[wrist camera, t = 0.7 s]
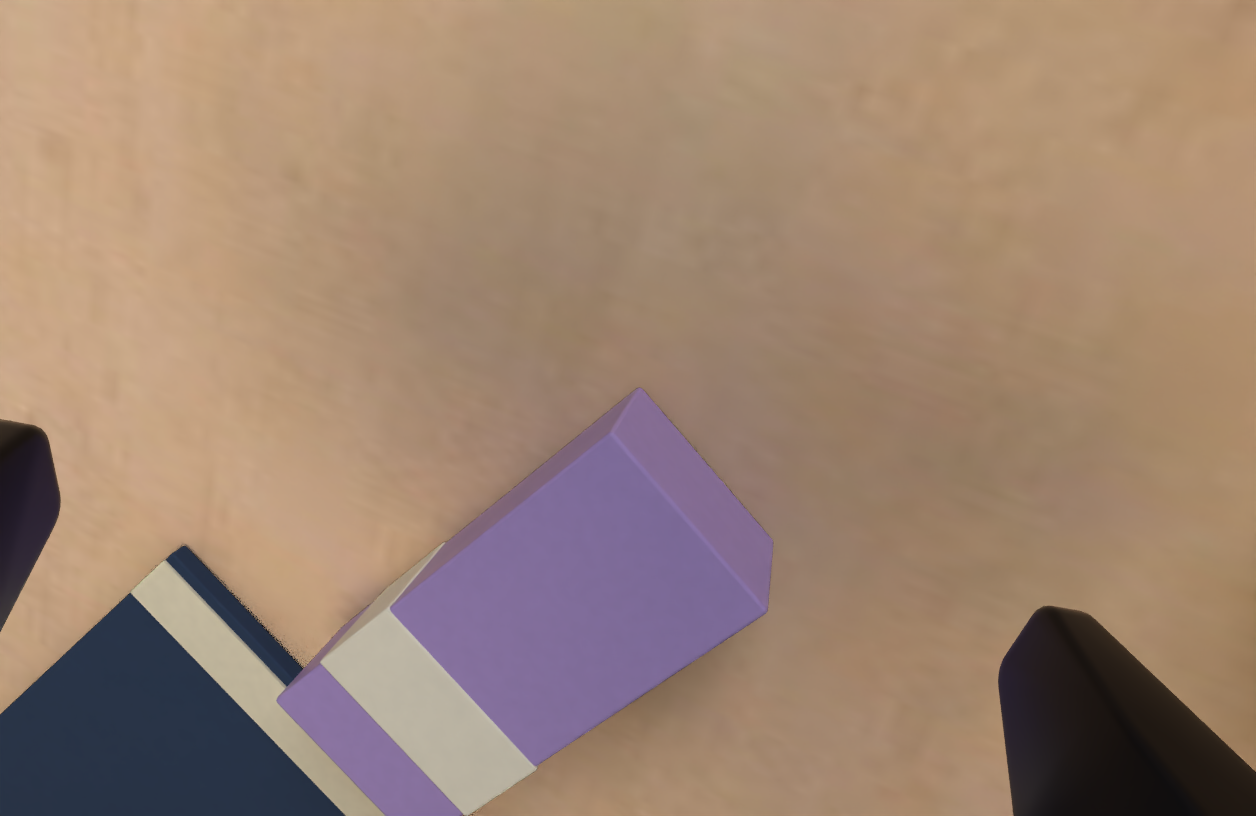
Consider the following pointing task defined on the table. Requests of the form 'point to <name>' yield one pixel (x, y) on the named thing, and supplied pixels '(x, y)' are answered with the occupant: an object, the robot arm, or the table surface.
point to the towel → (169, 716)
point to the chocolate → (537, 620)
